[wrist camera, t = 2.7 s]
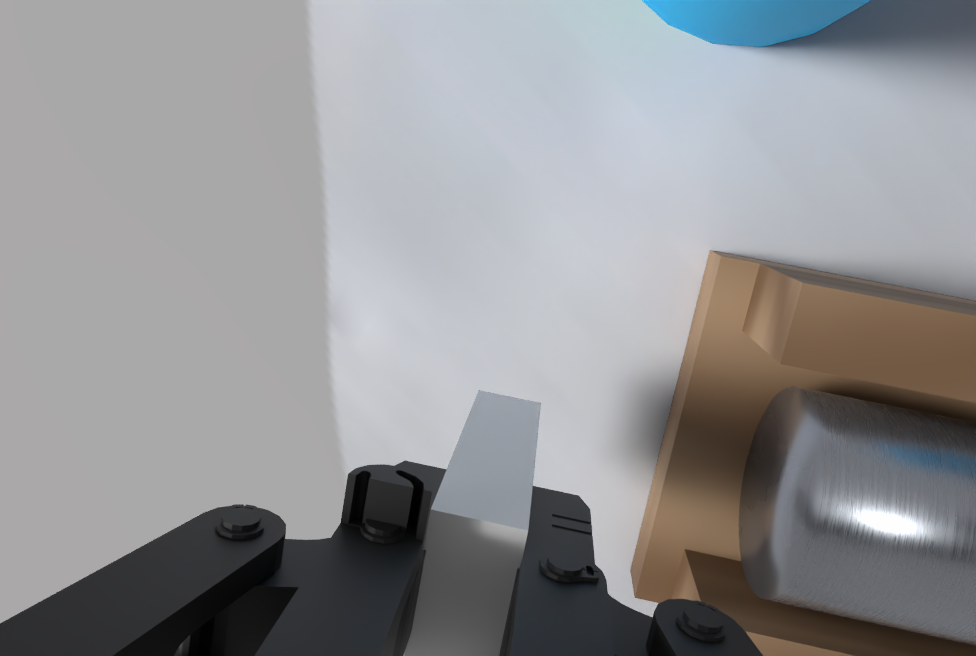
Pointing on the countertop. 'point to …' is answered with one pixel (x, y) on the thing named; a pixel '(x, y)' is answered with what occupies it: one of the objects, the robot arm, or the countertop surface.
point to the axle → (863, 513)
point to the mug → (752, 18)
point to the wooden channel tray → (744, 398)
